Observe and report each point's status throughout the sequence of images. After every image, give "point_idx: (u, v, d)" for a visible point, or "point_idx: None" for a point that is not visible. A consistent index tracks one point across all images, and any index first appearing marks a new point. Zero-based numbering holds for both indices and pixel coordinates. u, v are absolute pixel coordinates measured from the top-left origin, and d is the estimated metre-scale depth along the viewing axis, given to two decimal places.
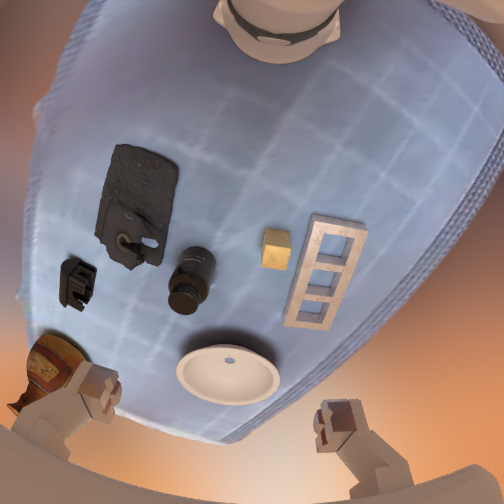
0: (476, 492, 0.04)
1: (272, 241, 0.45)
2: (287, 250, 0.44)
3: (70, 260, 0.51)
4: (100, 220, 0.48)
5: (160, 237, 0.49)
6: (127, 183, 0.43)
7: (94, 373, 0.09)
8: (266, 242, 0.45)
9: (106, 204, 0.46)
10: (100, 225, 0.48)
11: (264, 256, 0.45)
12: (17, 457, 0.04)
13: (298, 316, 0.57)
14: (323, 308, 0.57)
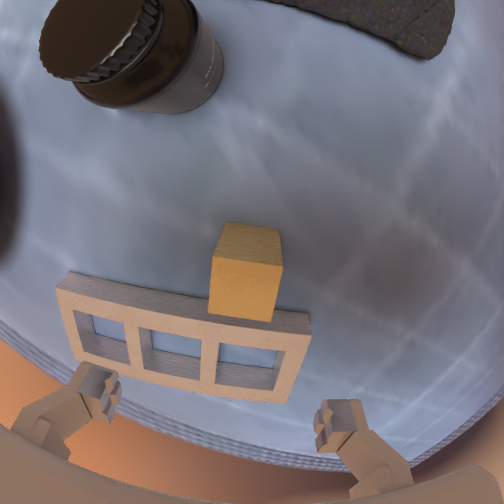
0: (476, 492, 0.04)
1: None
2: (265, 314, 0.18)
3: None
4: None
5: None
6: None
7: (94, 373, 0.09)
8: None
9: None
10: None
11: (246, 264, 0.16)
12: (17, 457, 0.04)
13: None
14: (109, 342, 0.27)
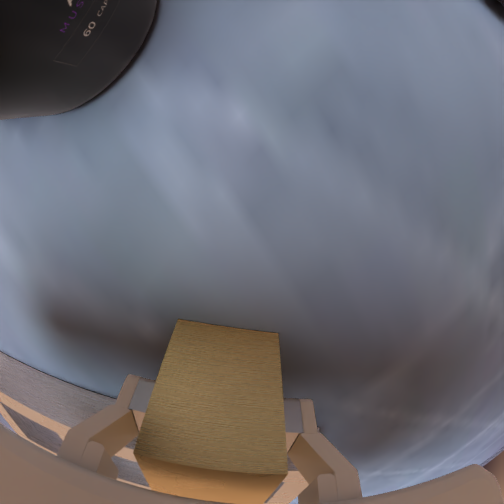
0: (476, 492, 0.04)
1: None
2: (250, 502, 0.07)
3: None
4: None
5: None
6: None
7: (143, 387, 0.09)
8: (283, 450, 0.06)
9: None
10: None
11: (207, 471, 0.06)
12: (17, 457, 0.04)
13: None
14: None
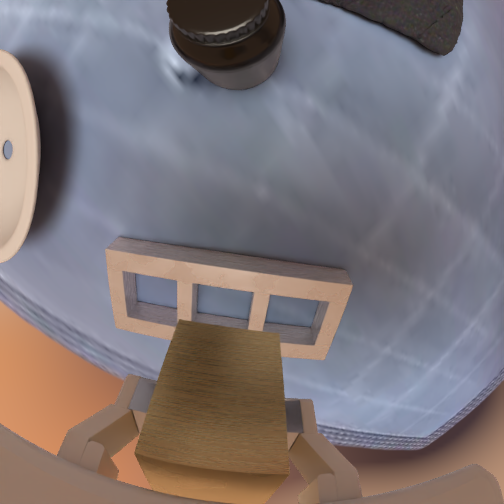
0: (476, 492, 0.04)
1: None
2: (252, 502, 0.07)
3: None
4: None
5: None
6: None
7: (143, 387, 0.09)
8: (285, 450, 0.06)
9: None
10: None
11: (208, 471, 0.06)
12: (17, 457, 0.04)
13: None
14: (152, 308, 0.30)
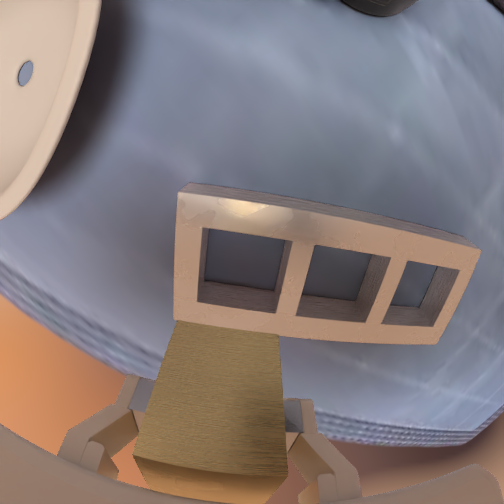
0: (476, 492, 0.04)
1: None
2: None
3: None
4: None
5: None
6: None
7: (143, 387, 0.09)
8: (284, 452, 0.06)
9: None
10: None
11: (206, 473, 0.06)
12: (17, 457, 0.04)
13: (205, 230, 0.19)
14: (230, 289, 0.22)
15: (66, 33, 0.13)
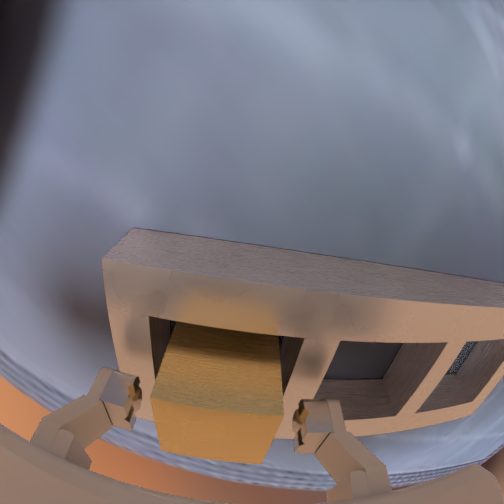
0: (476, 492, 0.04)
1: None
2: (252, 458, 0.09)
3: None
4: None
5: None
6: None
7: (116, 380, 0.09)
8: None
9: None
10: None
11: (214, 413, 0.07)
12: (17, 457, 0.04)
13: None
14: None
15: None
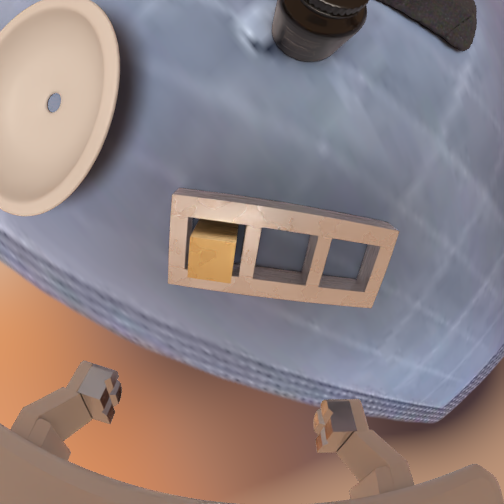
0: (476, 492, 0.04)
1: None
2: (226, 277, 0.26)
3: None
4: None
5: None
6: None
7: (94, 373, 0.09)
8: None
9: None
10: None
11: (212, 242, 0.25)
12: (17, 457, 0.04)
13: (190, 220, 0.28)
14: None
15: (88, 77, 0.22)
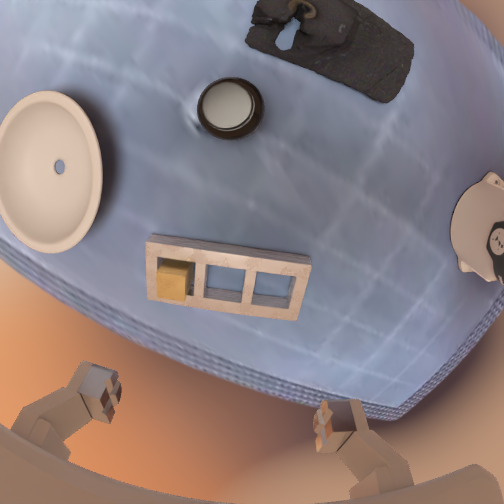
0: (476, 492, 0.04)
1: (187, 278, 0.38)
2: (181, 298, 0.38)
3: None
4: None
5: (300, 56, 0.29)
6: (380, 42, 0.26)
7: (94, 373, 0.09)
8: (186, 274, 0.37)
9: (350, 4, 0.25)
10: None
11: (170, 275, 0.37)
12: (17, 457, 0.04)
13: (160, 257, 0.40)
14: None
15: (83, 153, 0.34)
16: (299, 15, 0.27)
